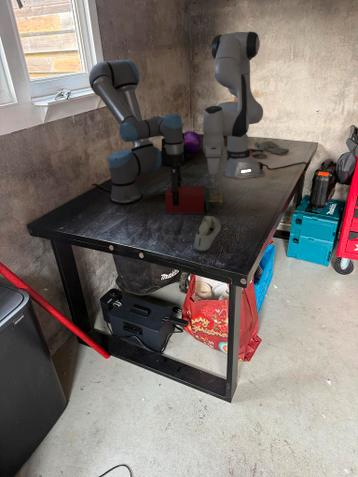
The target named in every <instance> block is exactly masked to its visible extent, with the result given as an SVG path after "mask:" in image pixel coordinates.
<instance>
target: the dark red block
mask: <svg viewBox="0 0 358 477" xmlns="http://www.w3.org/2000/svg"><path fill="white" fill-rule="evenodd" d="M174 190H176V189H174ZM171 191H172V185H169V186H167V188H166V192H165V195H164V199H165V200H164V201H165V213H166V215H168V214H169V215H170V214H171V215H172V214H173V215H174V214H175V215H176V214H177V215H179V214H180V215H181V214H205V206H206V195H205V185H181V186H178V191H179V206H173V196H172V192H171Z"/></svg>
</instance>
